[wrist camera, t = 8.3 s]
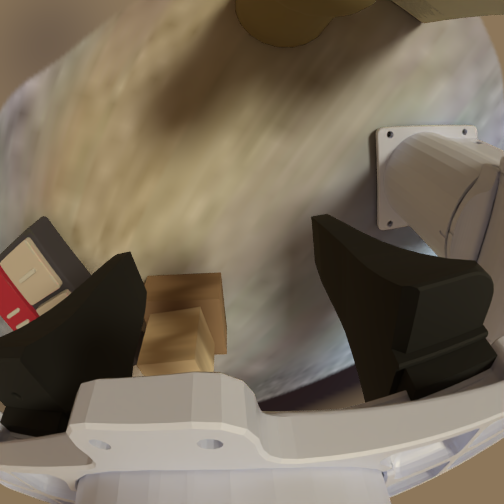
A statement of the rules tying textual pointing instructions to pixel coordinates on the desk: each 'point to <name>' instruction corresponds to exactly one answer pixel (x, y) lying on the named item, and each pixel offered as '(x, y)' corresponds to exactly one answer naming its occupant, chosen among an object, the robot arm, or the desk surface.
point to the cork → (292, 18)
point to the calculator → (39, 275)
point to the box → (450, 8)
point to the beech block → (176, 343)
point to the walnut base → (190, 300)
